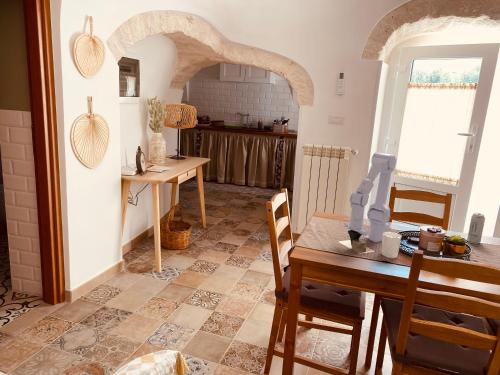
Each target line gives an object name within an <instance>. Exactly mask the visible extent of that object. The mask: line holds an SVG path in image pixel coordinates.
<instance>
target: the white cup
mask: <svg viewBox="0 0 500 375" xmlns="http://www.w3.org/2000/svg"><path fill="white" fill-rule="evenodd" d="M401 241H402V235H401V234H399V233H397V232H394V231H393V232H392V231H389V232H384V233H383V239H382V241H381V255H383V256H384V257H385V258H387V259H396V258H398V255H399V254H398V253H399V251H400V247H401Z"/></svg>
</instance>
